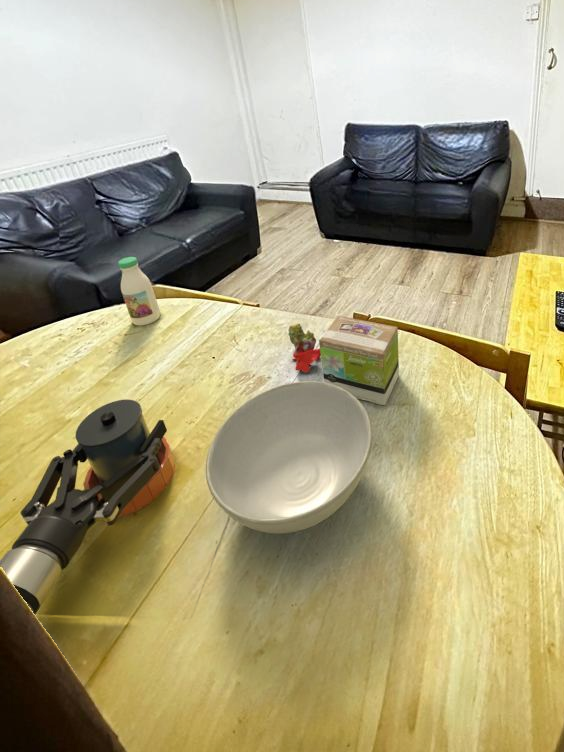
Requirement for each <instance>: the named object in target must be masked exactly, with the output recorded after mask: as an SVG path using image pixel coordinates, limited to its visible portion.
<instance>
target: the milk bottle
mask: <svg viewBox="0 0 564 752" xmlns="http://www.w3.org/2000/svg"><path fill="white" fill-rule="evenodd" d="M117 264H118V268H119V270H120V271H121V280H120V291H121V294H122V297H123V298H122V299H123V301H124V303H125V306H126V309H127V311H128V312H127V313H128V314H129V317H130V321H131V323H132V324H133V325H135V326H146V325H150V324H152V323H154V322H156V321H157V320H158V319H159V318H160V317H161V310H160V307H159V304H158V301H157V298H156V294H155V291H154V289H153V288H154V287H153V285H152V283H151V281H150V279H149V277H148V276H147V275H146V274H145V273H144V272H143V271H142V269H140V267H139V262H138V259H137V257H135V256H128V257H124V258H121V259H120V260H119V261H118V262H117Z"/></svg>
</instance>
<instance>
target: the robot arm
mask: <svg viewBox="0 0 564 752" xmlns="http://www.w3.org/2000/svg"><path fill="white" fill-rule="evenodd" d="M167 432H168V430H167V427H166V424H165V421H164V419H159V420H157V422H156V424H155V425H154V426H153V428H152V430H151V431H150V435H149V436H148V438H147V439H146V441H145V442H144V444H143V445H142V447H141V448H140V450H139V451H138V452H139V454H140V456H139V457H137V458H136V459H135V460H133V461H132V462H131V463H129V464H128V465H127V466H125V467H124V468H123V469H122V470H120V471H119V472H118V473H116V474H115V475H114V476H112V477H111V478H110V479H108V480H107V481H106V482H104V483H103V484H98V485H97V486H95V487H94V488H93V489H86V490H85V489H83V490H81V489H79V488H76V483H77V476H78V475H77V474H78V470H79V469H78V468H79V463H86V461H88V459H87V457H86V455H85V453H84V450H83V448H82V446H81V445H79V444H78V443H77V445H75V447H74V448H73V450H72V449H71V448H70V449H66V450H65V451H63V453H62V455H63V456H62V457H61V456H60V455H57V456H55V457H53V458H52V459H51V461H50V462H49V465H48V466H47V468H46V470H45V472H44V474H43V475H42V478H41V480H40V482H39V483H38V486H37V488H36V490H35V492H34V493H33V495H32V497H31V499H30V500H29V501H28V502H27V503H26V504H25V506H24V507H22V509H21V511H20V515H21V517H22V518H23V520H24V522H25V523H26V525H27V526H26V527H25V528H24V530H23V531H22V532H21V533H20V535H19V536H18V537H17V538H16V540H15V541H14V542H13V544H12V546H11V549H10V550H7V551H6V552H5V553H4V555H3V556H2V557H1V558H0V567H2V568H3V570H4V571H5V573H6V575H7V576H8V578H9V579H10V581H11V582H12V583H13V585H14V586H15V588H16V589H17V590H18V592H19V593H20V595H21V596H22V597H23V599H24V600H25V601H26V602H27V604H28V606H29V607H30V608H31V610H32V611H33V613H34V614H35V615H36V614H37V613H38V611H39V610H40V608H41V607H42V605H43V603H44V602H45V600H46V599H47V597H48V596H49V594H50V593H51V591H52V590H53V588H54V587H55V586H56V583H57V582H58V581H59V579H60V577H61V575H62V573H63V572H62V570H64V569H66V568H67V567H68V565H69V564H70V563H71V562H72V559H73V558H74V556H75V555H76V554H77V552H78V550H79V549H80V547H81V545H82V544H83V542H84V539H85V536H86V533H87V531H88V530H89V529H90V528H91V527H92V526H93V525H95V524H96V523H97V522H106V524H107V525H108V526H112V525H115V523H116V522H117V520H118V518H119V517H120V516H119V515H120V513H121V512H122V510H123V509H124V508H125V506H126V505H127V504H128V503H129V502H130V501H131V500H132V499H133V498H134V497H135V496H136V494H137V493H138V492H139V491H140V490H141V489H142V488H143V487H144V486H145V485H146V484H147V483H148V481H149V480H150V479H151V478H152V477H153V476H154V475H155V474H156V473H157V472H158V471H159V469H160V465H159V463H158V460H157V458H156V456H155V455H156V454H157V452H158V450H159V449H160V447H161V440H162V438H163V437H164V436H165V435H166V433H167ZM141 464H142V465H141ZM58 484H59V486H58ZM57 486H58V487H57ZM56 488H57V489H56ZM55 490H56V495H55V499H54V501H53V502H51V503H50V501H51V499H52V496H53V495H54V492H55ZM98 494H100V496H101V499H100V500H99V499H98V497H97V495H98ZM49 503H50V504H49Z"/></svg>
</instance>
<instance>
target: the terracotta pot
mask: <svg viewBox="0 0 564 752" xmlns="http://www.w3.org/2000/svg"><path fill="white" fill-rule="evenodd" d="M157 453H158V456H159V458H160V461H161V463H162V464H161V466H160V469H159V471H158V472H157V473H156V474H155V475H154V476H153V477H152V478H151V479H150V480H149V481H148V483H147V484H146V485H145V486H144V487H143V488H142V489H141V490H140V491H139V492H138V493H137V494H136V496H135V497H134V498H133V499H132V500H131V501H130V502H129V503H128V504H127V505H126V506H125V508H124V509H123V510H122V512H121V513H120V515H119V517H124V516H128V515H130V514H133V513H135V512H137V511H139V510H141V509H142V508H145V507H146V506H147V505H149V504H150V503H151V502H153V501H154V500H155V499H156V498H158V496H160V494H162V492H164V490H165V489H166V488H167V486H168V485H169V484H170V482H171V480H172V479H173V476H174V473H175V471H176V458H175V456H174V454H173V451H172V447H171V445H170V443H169V441H168V440H167V438H166V437H164V436H163V438H162V440H161V447H160V449H159V450H158V452H157ZM98 484H100V483H99V481H98V479H97V477H96V475H95V473H94V471H93V469H92V467H91V466H90V467H89V469H88V470H87V472H86V475H85V478H84V481H83V488H84V489H83V490H86V489H93V488H94V487H95V486H97V485H98ZM97 497H98V499H99V500H100V499H101V496H100V494H98V495H97Z"/></svg>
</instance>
